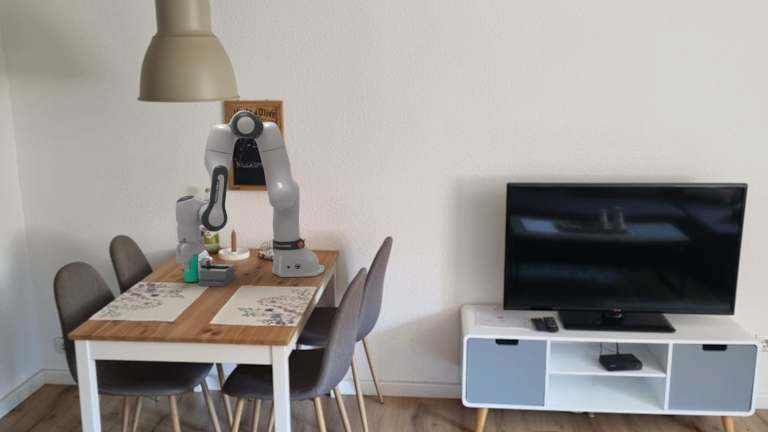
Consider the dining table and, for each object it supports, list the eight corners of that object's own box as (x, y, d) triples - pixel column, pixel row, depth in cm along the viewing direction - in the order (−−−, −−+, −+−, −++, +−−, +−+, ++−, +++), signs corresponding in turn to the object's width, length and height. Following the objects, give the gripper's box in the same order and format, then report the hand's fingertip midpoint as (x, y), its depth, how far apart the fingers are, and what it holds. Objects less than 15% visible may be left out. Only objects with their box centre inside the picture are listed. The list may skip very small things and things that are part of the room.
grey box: (235, 277, 311) (234, 263, 309) (224, 286, 299) (223, 271, 298) (210, 277, 313) (209, 262, 311) (199, 285, 301) (197, 271, 300)
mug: (182, 270, 323) (180, 253, 321) (194, 264, 332) (192, 247, 331) (206, 272, 320) (205, 254, 318) (218, 266, 329) (216, 248, 327)
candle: (201, 277, 311) (200, 249, 308) (196, 282, 305) (195, 253, 302) (187, 277, 311) (185, 249, 308) (182, 281, 305) (180, 253, 303)
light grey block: (225, 275, 308) (224, 258, 306) (220, 279, 302) (219, 262, 301) (204, 274, 310) (203, 258, 308) (198, 278, 304) (197, 262, 302)
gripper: (185, 242, 293) (188, 276, 296) (206, 230, 313) (208, 261, 316) (170, 242, 294) (173, 275, 297) (192, 229, 314) (194, 261, 317)
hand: (191, 268), depth 307 cm, fingers open, 5 cm apart
